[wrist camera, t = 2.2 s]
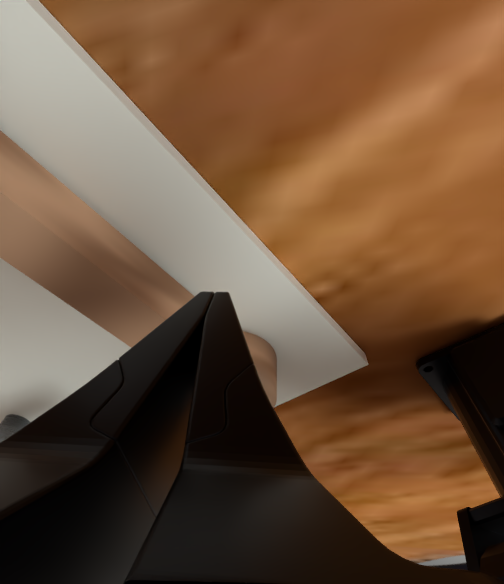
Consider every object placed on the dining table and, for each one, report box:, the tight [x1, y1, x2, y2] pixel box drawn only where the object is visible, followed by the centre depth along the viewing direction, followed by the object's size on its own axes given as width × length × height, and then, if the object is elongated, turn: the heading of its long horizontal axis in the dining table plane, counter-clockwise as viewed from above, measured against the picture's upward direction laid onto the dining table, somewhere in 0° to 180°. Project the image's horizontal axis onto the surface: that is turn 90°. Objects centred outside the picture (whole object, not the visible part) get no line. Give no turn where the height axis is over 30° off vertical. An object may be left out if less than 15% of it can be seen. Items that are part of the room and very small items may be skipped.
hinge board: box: [0, 0, 369, 423], centre depth 18 cm, size 21×26×1 cm
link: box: [0, 130, 277, 408], centre depth 13 cm, size 17×4×2 cm, turn 41°
